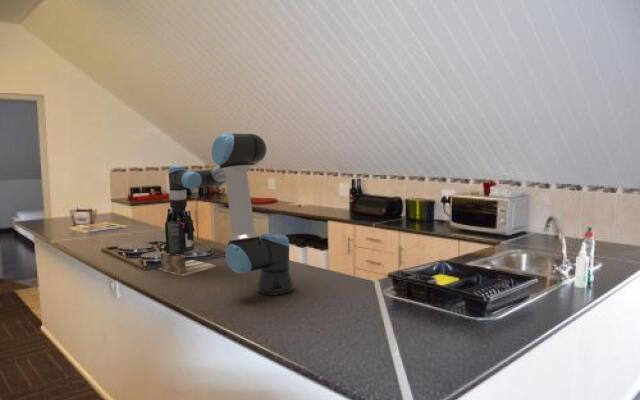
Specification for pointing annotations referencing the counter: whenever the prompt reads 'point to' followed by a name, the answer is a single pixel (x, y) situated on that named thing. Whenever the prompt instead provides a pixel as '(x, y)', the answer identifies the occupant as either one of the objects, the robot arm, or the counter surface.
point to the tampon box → (177, 238)
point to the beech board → (194, 267)
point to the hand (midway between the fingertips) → (180, 244)
